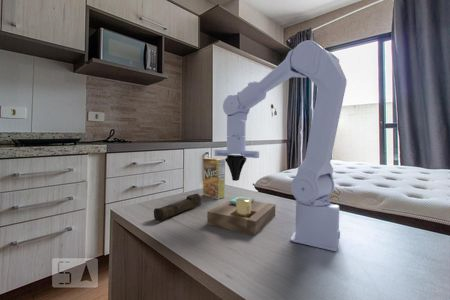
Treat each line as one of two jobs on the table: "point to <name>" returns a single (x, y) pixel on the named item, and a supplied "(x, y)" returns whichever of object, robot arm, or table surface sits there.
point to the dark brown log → (177, 207)
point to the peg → (243, 207)
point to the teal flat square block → (238, 198)
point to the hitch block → (228, 219)
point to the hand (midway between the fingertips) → (235, 180)
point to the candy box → (214, 177)
